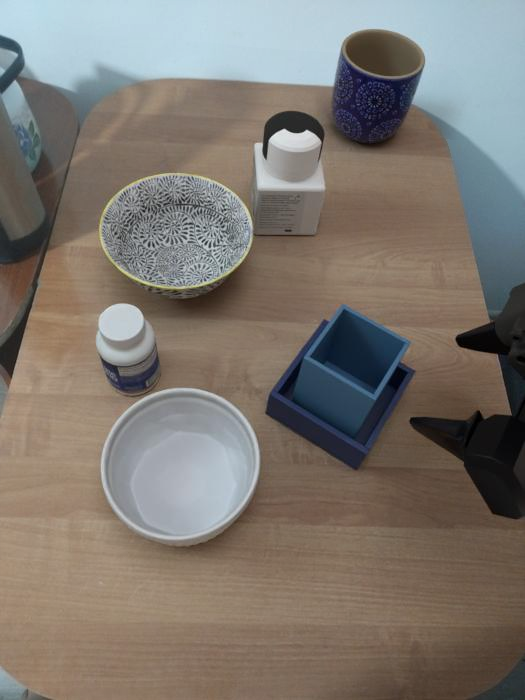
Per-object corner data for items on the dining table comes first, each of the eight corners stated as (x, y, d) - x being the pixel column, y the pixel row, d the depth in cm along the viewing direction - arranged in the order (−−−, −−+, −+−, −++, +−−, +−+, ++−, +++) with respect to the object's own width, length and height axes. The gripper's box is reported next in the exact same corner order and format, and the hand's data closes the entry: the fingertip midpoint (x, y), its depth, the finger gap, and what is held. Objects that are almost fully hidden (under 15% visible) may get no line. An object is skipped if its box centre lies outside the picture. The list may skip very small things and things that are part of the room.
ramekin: (106, 431, 54) (92, 400, 48) (239, 406, 56) (242, 374, 50) (121, 573, 48) (107, 558, 42) (270, 539, 50) (278, 519, 44)
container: (250, 190, 72) (257, 100, 61) (309, 191, 73) (327, 103, 62) (253, 235, 68) (261, 148, 57) (315, 236, 69) (335, 150, 58)
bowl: (275, 261, 67) (282, 215, 60) (194, 354, 59) (192, 314, 53) (169, 201, 70) (164, 152, 64) (80, 282, 63) (65, 236, 56)
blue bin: (382, 392, 58) (411, 341, 49) (350, 444, 55) (375, 400, 46) (324, 358, 59) (342, 303, 51) (289, 407, 56) (303, 357, 48)
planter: (315, 108, 82) (328, 32, 72) (382, 99, 84) (404, 24, 75) (342, 158, 77) (360, 83, 67) (413, 147, 79) (441, 73, 69)
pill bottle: (102, 359, 58) (83, 304, 50) (153, 345, 59) (143, 290, 51) (114, 404, 56) (96, 354, 47) (167, 388, 57) (159, 338, 48)
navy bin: (402, 391, 59) (416, 370, 55) (356, 471, 54) (367, 454, 50) (317, 341, 61) (324, 318, 57) (265, 413, 56) (268, 393, 52)
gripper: (669, 188, 34) (442, 231, 46) (584, 419, 26) (331, 397, 37) (702, 323, 39) (489, 329, 51) (640, 553, 31) (402, 497, 42)
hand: (435, 380), depth 45 cm, fingers open, 9 cm apart
